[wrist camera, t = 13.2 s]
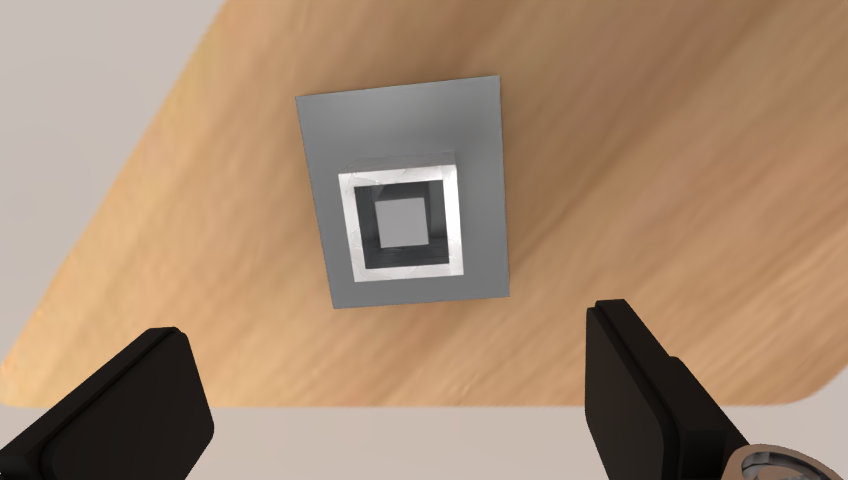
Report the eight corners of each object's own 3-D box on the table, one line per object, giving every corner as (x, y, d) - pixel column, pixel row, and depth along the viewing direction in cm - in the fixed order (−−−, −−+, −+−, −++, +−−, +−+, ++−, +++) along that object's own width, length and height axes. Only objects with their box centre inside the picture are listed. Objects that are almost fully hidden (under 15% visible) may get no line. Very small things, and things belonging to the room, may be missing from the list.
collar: (454, 150, 28) (455, 164, 23) (460, 244, 30) (463, 274, 25) (356, 159, 28) (338, 174, 23) (369, 250, 30) (354, 282, 25)
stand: (496, 75, 28) (509, 72, 22) (506, 287, 32) (519, 331, 26) (302, 96, 28) (266, 99, 23) (338, 299, 33) (315, 344, 27)
